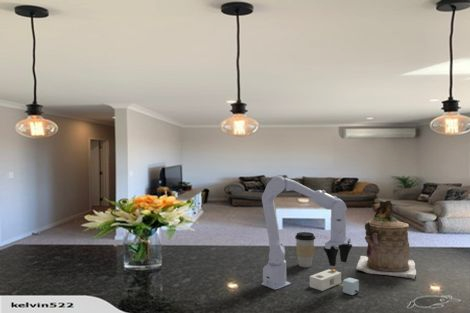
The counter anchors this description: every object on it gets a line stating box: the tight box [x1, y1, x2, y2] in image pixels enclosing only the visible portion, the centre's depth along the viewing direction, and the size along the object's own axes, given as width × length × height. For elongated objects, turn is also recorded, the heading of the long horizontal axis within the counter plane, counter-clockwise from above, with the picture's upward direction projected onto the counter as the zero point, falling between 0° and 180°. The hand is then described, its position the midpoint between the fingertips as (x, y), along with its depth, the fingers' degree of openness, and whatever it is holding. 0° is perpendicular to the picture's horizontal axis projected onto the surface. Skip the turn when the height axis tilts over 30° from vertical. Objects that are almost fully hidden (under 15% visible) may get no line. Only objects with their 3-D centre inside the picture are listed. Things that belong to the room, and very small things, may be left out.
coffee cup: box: [294, 231, 316, 268], centre depth 173 cm, size 9×9×15 cm
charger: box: [338, 277, 364, 296], centre depth 139 cm, size 9×4×5 cm, turn 41°
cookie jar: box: [355, 199, 417, 280], centre depth 168 cm, size 25×25×32 cm
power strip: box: [309, 268, 344, 292], centre depth 150 cm, size 6×18×5 cm, turn 131°
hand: (338, 263), depth 145 cm, fingers open, 7 cm apart
